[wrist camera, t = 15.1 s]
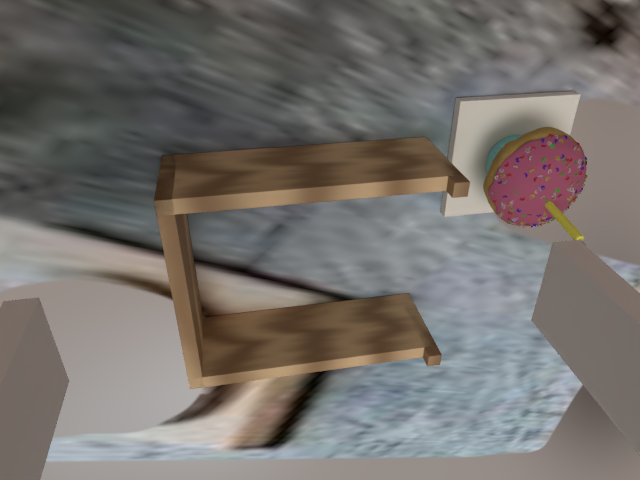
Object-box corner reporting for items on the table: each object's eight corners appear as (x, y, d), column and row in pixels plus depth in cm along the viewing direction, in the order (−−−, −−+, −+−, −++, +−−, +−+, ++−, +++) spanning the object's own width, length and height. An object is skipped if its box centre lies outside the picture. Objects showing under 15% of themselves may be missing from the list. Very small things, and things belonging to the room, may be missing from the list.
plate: (440, 211, 50) (444, 216, 49) (455, 98, 44) (460, 101, 44) (545, 201, 52) (551, 206, 51) (573, 90, 46) (580, 94, 45)
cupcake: (547, 191, 50) (633, 260, 40) (463, 209, 49) (529, 284, 39) (558, 103, 45) (658, 157, 35) (465, 122, 45) (540, 182, 35)
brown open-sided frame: (192, 328, 52) (189, 399, 44) (162, 155, 42) (152, 209, 35) (407, 302, 56) (440, 364, 48) (426, 136, 46) (470, 181, 38)
